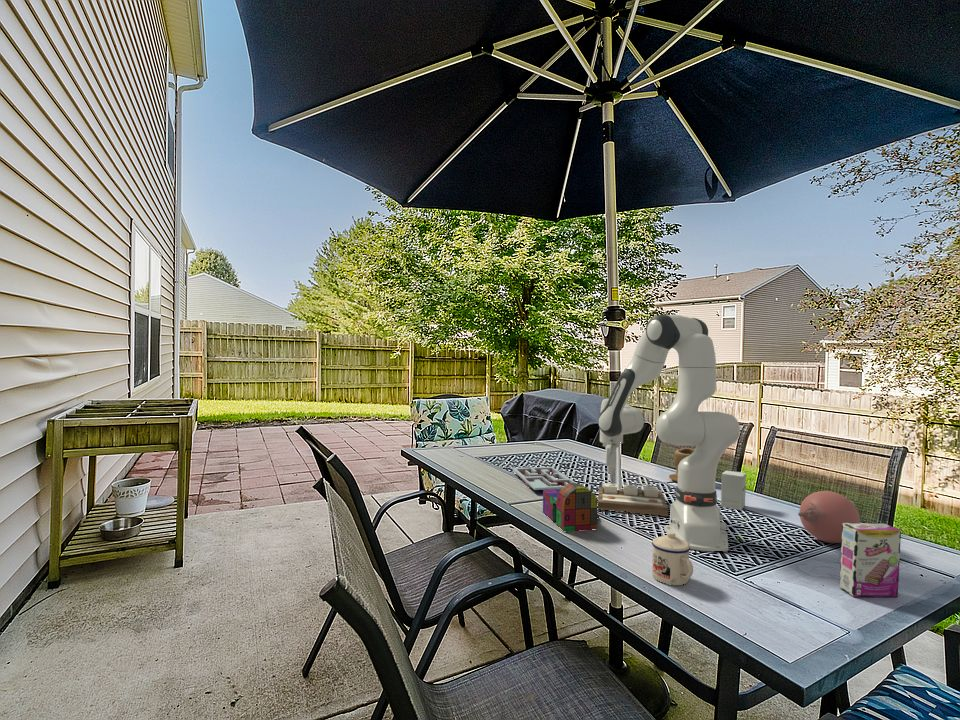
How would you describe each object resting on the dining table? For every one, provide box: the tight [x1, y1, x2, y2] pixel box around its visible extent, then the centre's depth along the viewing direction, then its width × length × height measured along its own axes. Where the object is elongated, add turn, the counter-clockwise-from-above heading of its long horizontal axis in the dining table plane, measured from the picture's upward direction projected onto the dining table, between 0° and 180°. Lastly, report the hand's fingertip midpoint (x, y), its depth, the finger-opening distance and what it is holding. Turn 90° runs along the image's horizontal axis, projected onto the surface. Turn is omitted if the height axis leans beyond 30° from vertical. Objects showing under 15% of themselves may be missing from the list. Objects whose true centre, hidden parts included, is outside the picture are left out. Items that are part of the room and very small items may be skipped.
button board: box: [597, 486, 669, 517], centre depth 190 cm, size 22×24×4 cm
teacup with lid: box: [651, 532, 694, 586], centre depth 126 cm, size 12×9×12 cm
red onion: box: [797, 490, 861, 544], centre depth 154 cm, size 15×20×15 cm
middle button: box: [623, 484, 639, 496], centre depth 195 cm, size 5×5×3 cm
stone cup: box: [668, 447, 695, 483], centre depth 226 cm, size 15×12×15 cm
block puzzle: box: [542, 482, 600, 532], centre depth 174 cm, size 25×17×14 cm
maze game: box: [511, 466, 576, 491], centre depth 220 cm, size 35×20×3 cm, turn 11°
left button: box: [603, 482, 618, 494], centre depth 197 cm, size 5×5×3 cm
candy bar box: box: [839, 522, 902, 598], centre depth 121 cm, size 11×5×16 cm, turn 92°
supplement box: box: [720, 470, 747, 511], centre depth 190 cm, size 7×7×13 cm
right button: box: [643, 485, 659, 497], centre depth 193 cm, size 5×5×3 cm
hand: (610, 472), depth 197 cm, fingers closed
